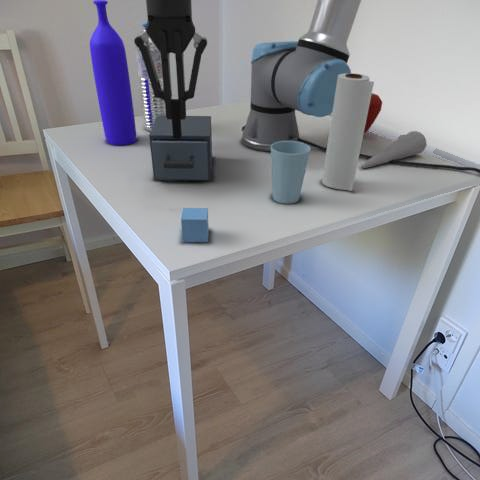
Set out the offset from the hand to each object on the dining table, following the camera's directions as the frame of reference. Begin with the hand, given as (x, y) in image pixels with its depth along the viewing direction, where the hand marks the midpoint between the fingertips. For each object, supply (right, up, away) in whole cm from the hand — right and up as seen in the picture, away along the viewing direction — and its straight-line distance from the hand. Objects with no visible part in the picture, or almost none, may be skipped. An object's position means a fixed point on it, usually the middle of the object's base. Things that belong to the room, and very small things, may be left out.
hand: (177, 136), depth 85 cm
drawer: (0, -3, +10) cm, 11 cm away
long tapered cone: (+50, +2, +21) cm, 54 cm away
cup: (+22, -12, +4) cm, 25 cm away
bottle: (-19, +11, +28) cm, 36 cm away
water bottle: (-12, +18, +37) cm, 43 cm away
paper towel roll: (+34, -7, +9) cm, 36 cm away
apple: (+46, +16, +36) cm, 60 cm away
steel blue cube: (+5, -22, -10) cm, 24 cm away
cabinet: (0, -1, +15) cm, 15 cm away
